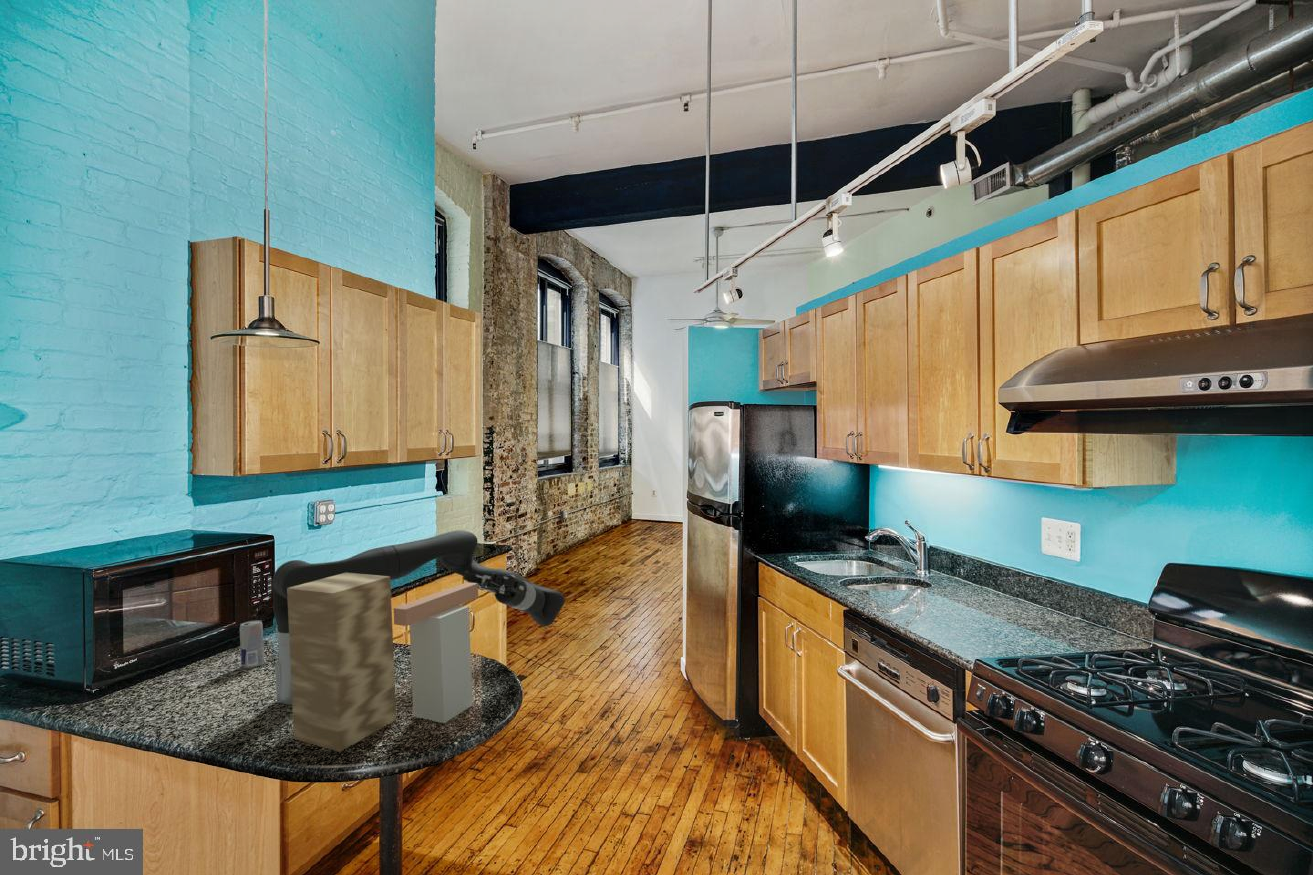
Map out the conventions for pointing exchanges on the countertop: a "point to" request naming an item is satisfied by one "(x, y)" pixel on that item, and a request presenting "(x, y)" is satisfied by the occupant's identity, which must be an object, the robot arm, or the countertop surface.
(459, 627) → the grey block
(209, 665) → the countertop surface
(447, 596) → the terracotta bar
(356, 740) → the oak stand
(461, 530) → the robot arm
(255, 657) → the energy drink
